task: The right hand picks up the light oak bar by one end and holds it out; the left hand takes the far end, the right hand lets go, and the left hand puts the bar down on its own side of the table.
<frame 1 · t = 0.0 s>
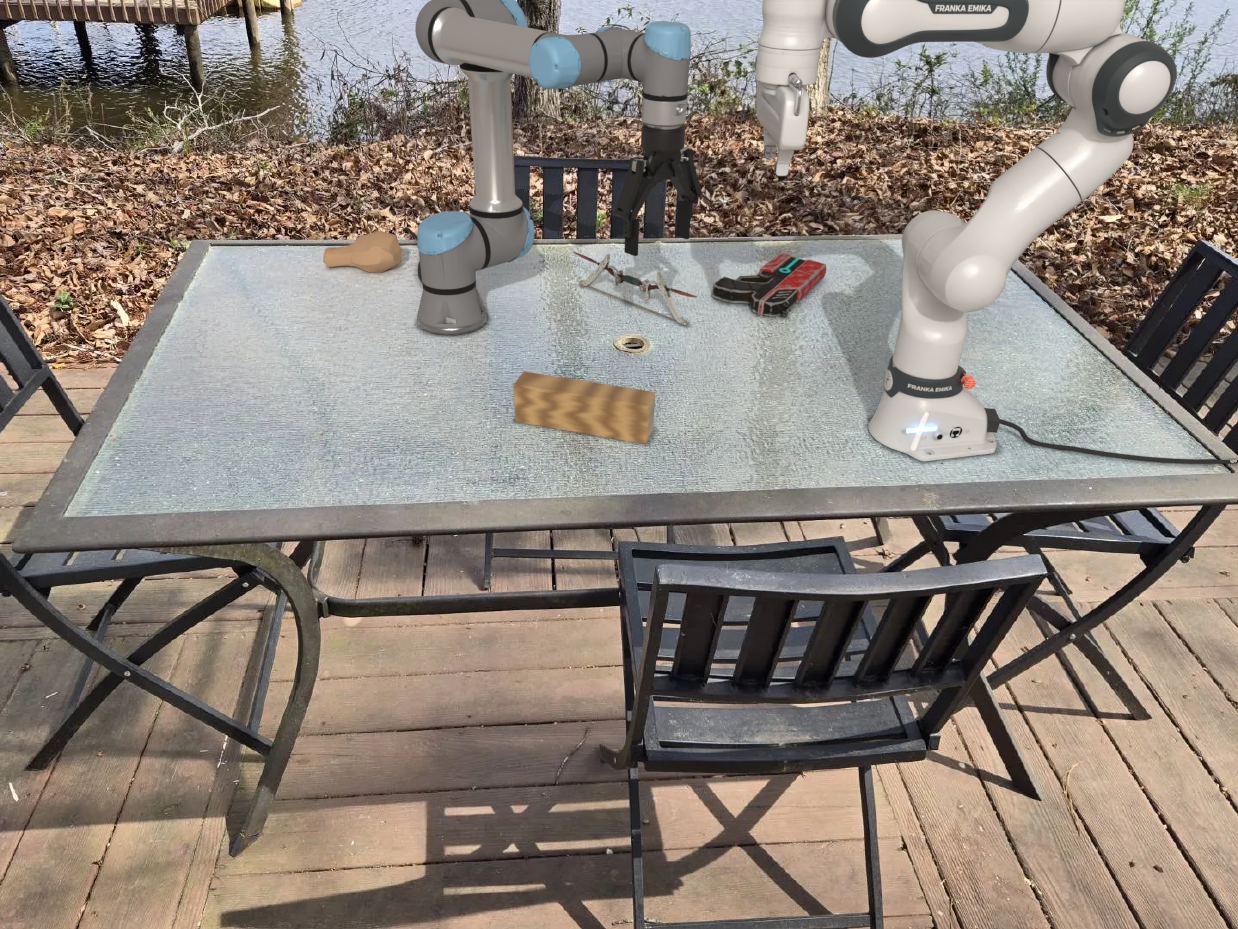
left hand: (657, 245, 161), 28 cm above the table, tool pointing down, fingers open, 13 cm apart
right hand: (774, 165, 133), 48 cm above the table, tool pointing down, fingers open, 8 cm apart
gun: (770, 291, 216), on the table
bar: (584, 425, 161), on the table
bow: (631, 304, 208), on the table
squash: (364, 267, 222), on the table
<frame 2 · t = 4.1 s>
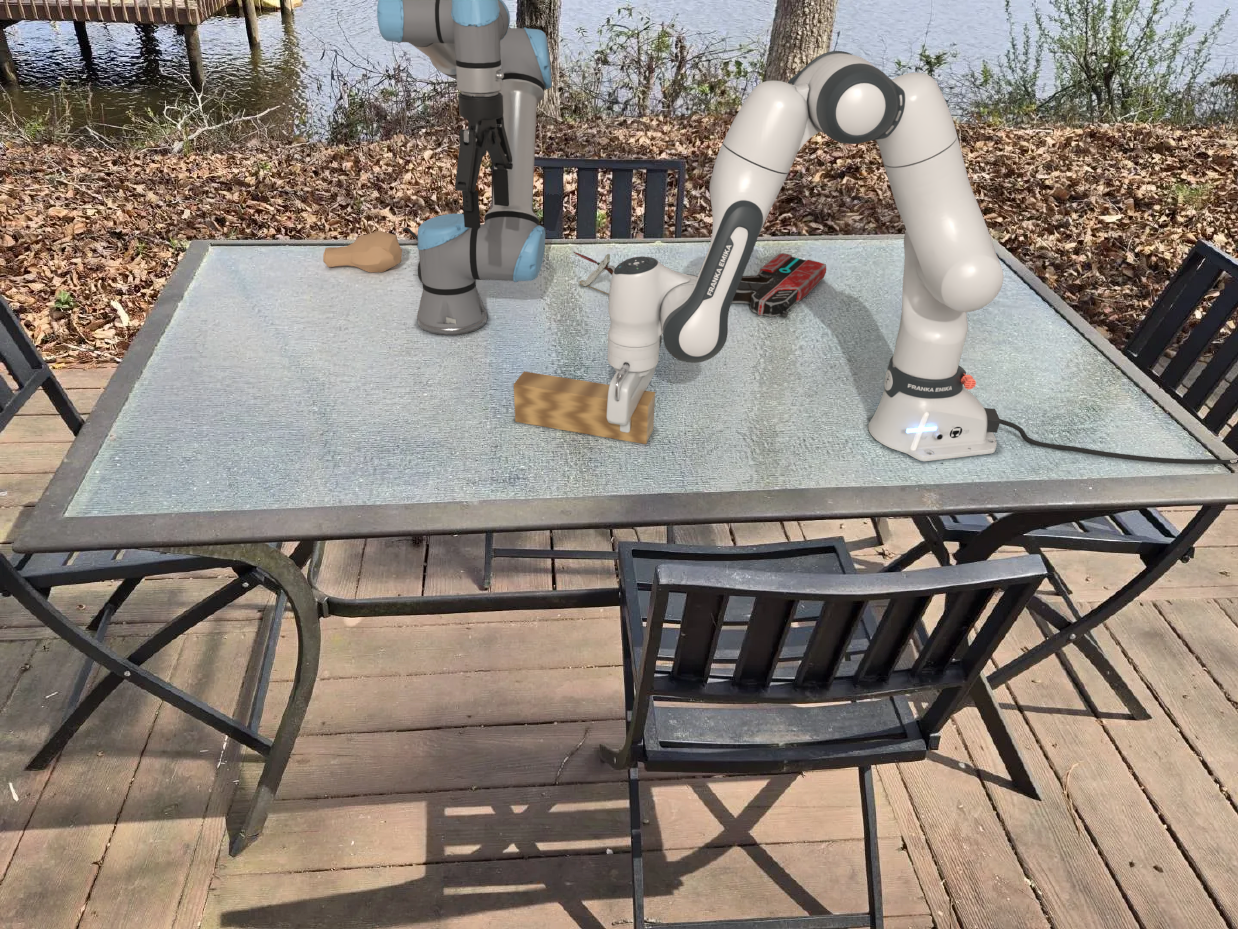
left hand: (487, 215, 160), 32 cm above the table, tool pointing down, fingers open, 13 cm apart
right hand: (630, 421, 158), 3 cm above the table, tool pointing down, fingers closed on bar, 5 cm apart
bar: (584, 425, 161), on the table, touching right hand
everything else where it was.
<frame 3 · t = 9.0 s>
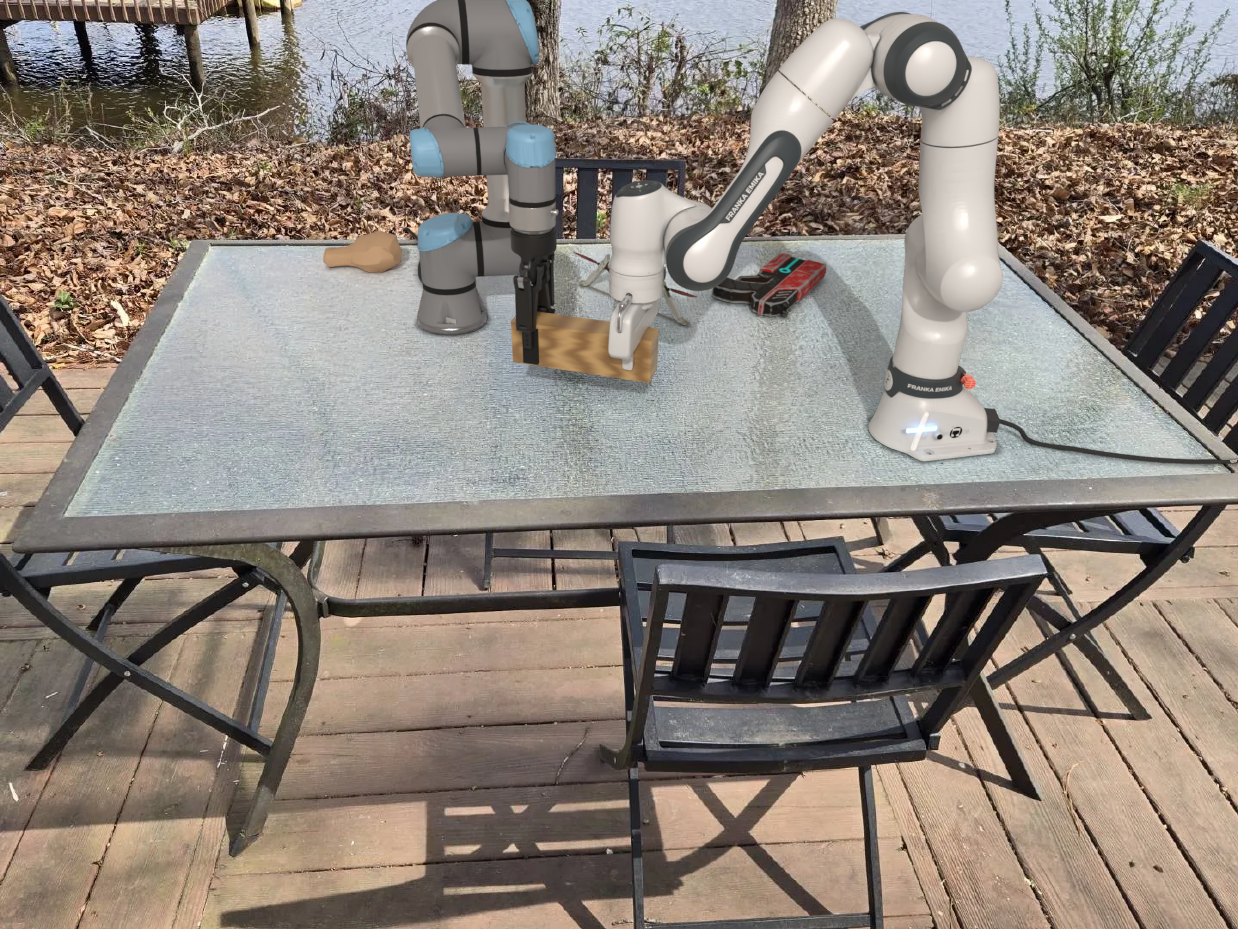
left hand: (537, 355, 156), 13 cm above the table, tool pointing down, fingers closed on bar, 5 cm apart
right hand: (633, 359, 151), 15 cm above the table, tool pointing down, fingers closed on bar, 5 cm apart
bar: (584, 365, 154), point 12 cm above the table, touching left hand, right hand
everything else where it was.
when the right hand's fingers open (15 cm above the table, at t = 9.9 s): bar moves 1 cm, held by the left hand.
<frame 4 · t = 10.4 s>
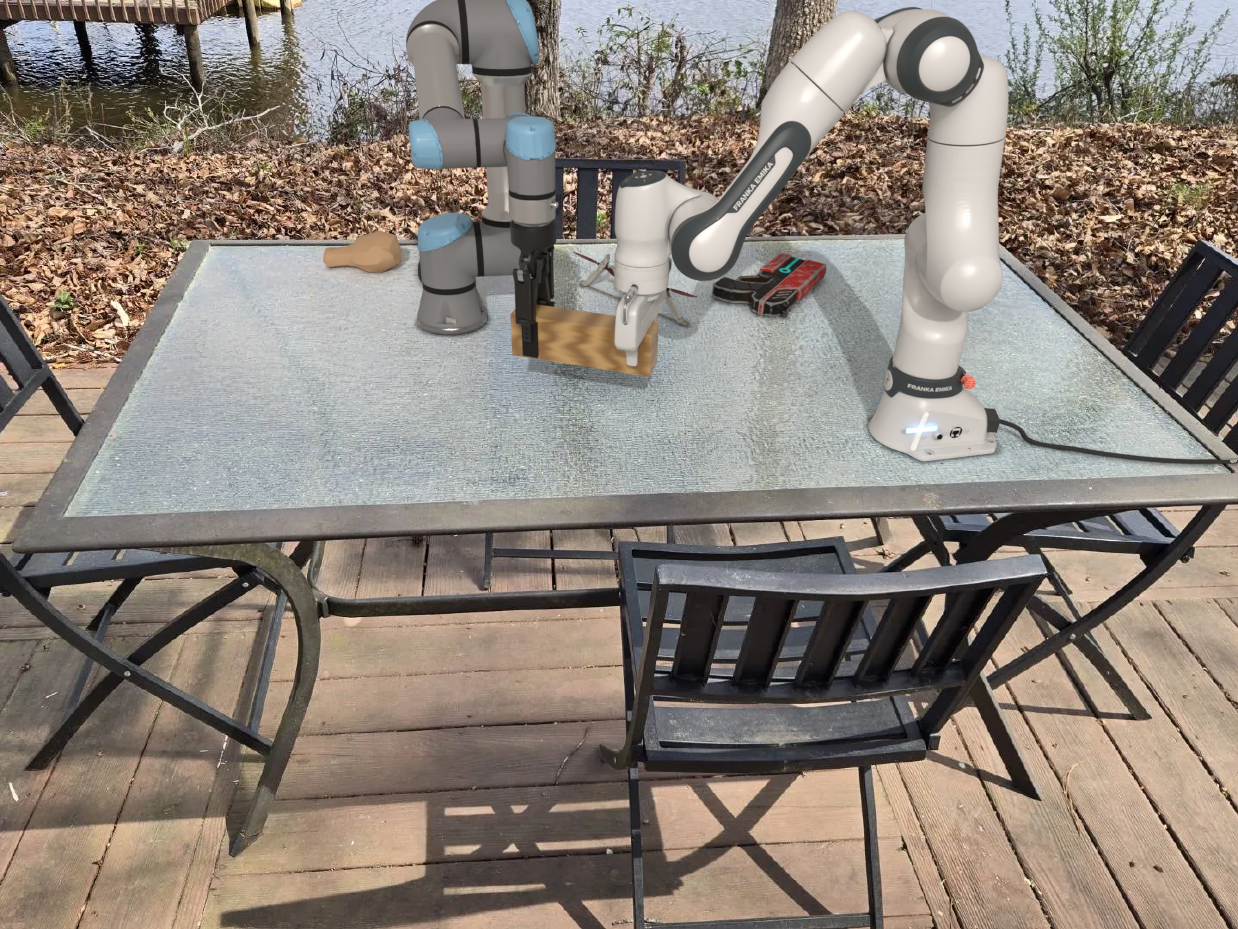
left hand: (536, 348, 155), 14 cm above the table, tool pointing down, fingers closed on bar, 5 cm apart
right hand: (639, 351, 150), 17 cm above the table, tool pointing down, fingers open, 8 cm apart
bar: (584, 359, 154), point 13 cm above the table, touching left hand
everything else where it was.
when the left hand's fingers open (2 cm above the table, at t = 15.7 s): bar drops 1 cm, on the table.
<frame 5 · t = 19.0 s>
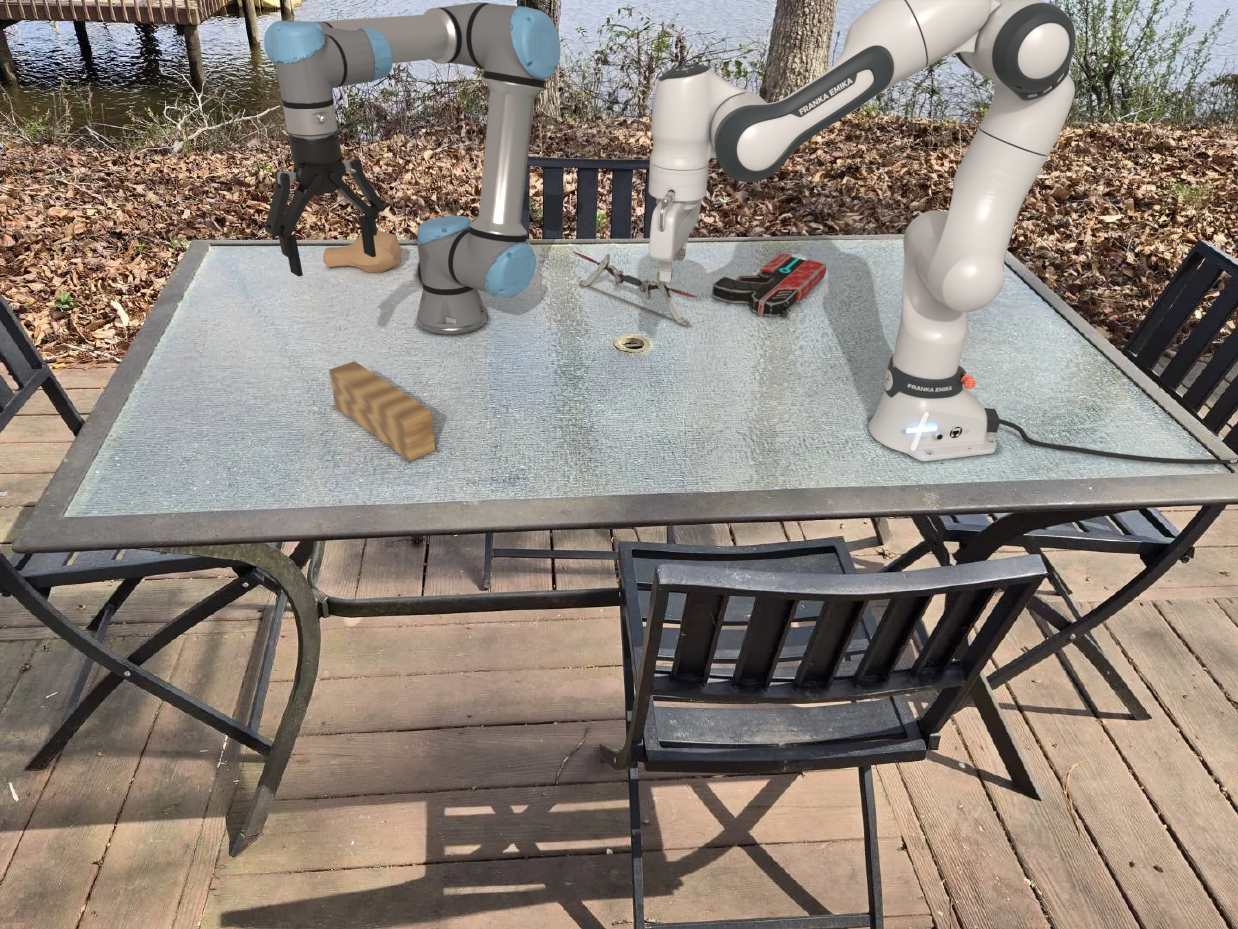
left hand: (334, 264, 148), 28 cm above the table, tool pointing down, fingers open, 13 cm apart
right hand: (672, 269, 140), 32 cm above the table, tool pointing down, fingers open, 8 cm apart
bar: (383, 427, 159), on the table
everything else where it was.
at the end: bar inside the target area (8.8 cm from its centre), on the table; the left hand is holding nothing; the right hand is holding nothing; bar at rest at the end (0.0 cm/s) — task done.
